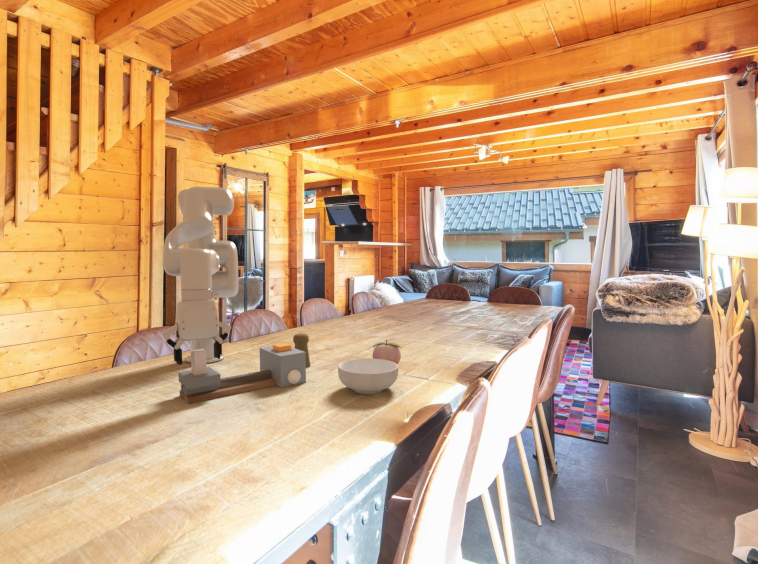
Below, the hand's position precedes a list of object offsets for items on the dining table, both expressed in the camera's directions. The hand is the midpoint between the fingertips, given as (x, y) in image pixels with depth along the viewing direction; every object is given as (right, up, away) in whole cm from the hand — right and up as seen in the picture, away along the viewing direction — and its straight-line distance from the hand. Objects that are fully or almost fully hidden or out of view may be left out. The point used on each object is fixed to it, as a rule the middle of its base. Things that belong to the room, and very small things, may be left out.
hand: (198, 360), depth 113 cm
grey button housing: (+18, -9, +16) cm, 26 cm away
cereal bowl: (+44, -10, +7) cm, 46 cm away
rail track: (+6, -9, +6) cm, 13 cm away
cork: (+21, -8, +32) cm, 39 cm away
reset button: (+18, -2, +16) cm, 24 cm away
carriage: (0, -8, +1) cm, 8 cm away
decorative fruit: (+50, -8, +27) cm, 57 cm away
